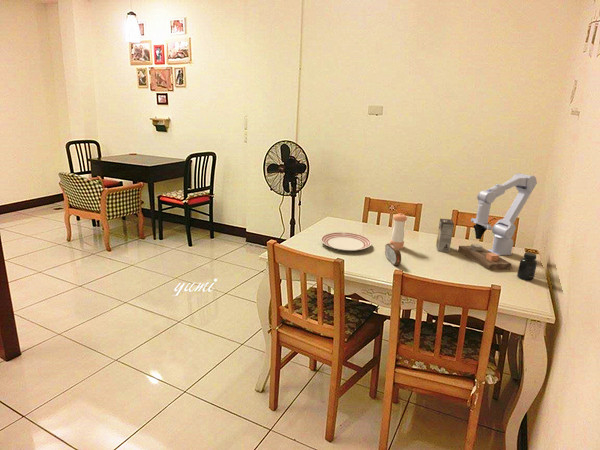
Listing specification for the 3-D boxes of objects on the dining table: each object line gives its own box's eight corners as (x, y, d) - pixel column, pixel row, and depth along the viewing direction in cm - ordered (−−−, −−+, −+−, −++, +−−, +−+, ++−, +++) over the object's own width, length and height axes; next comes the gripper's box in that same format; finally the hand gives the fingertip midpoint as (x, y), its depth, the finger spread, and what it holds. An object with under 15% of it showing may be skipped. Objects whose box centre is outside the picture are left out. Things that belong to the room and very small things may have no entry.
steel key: (477, 249, 212) (478, 244, 211) (481, 252, 208) (482, 246, 207) (470, 249, 211) (471, 244, 210) (474, 252, 207) (475, 246, 207)
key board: (477, 250, 218) (478, 245, 217) (510, 269, 193) (511, 263, 192) (458, 251, 215) (458, 245, 214) (488, 270, 191) (489, 264, 190)
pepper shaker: (388, 247, 215) (392, 213, 210) (390, 243, 222) (395, 210, 216) (402, 249, 213) (406, 215, 207) (404, 245, 219) (408, 212, 214)
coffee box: (435, 245, 223) (439, 218, 218) (447, 246, 221) (451, 219, 217) (437, 250, 214) (442, 222, 209) (449, 252, 213) (454, 223, 208)
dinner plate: (366, 258, 199) (366, 251, 198) (314, 249, 207) (314, 243, 206) (374, 241, 224) (375, 236, 223) (327, 234, 232) (328, 229, 231)
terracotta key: (492, 258, 200) (493, 252, 199) (497, 261, 196) (499, 255, 195) (485, 258, 199) (486, 253, 198) (490, 261, 195) (491, 255, 194)
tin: (400, 267, 189) (402, 251, 186) (394, 267, 188) (396, 251, 186) (389, 256, 203) (390, 240, 200) (383, 256, 202) (384, 240, 200)
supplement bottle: (513, 274, 187) (518, 251, 183) (527, 275, 188) (532, 251, 184) (522, 281, 180) (528, 256, 177) (536, 281, 181) (542, 256, 178)
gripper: (467, 210, 210) (463, 234, 214) (484, 217, 196) (479, 243, 200) (479, 210, 211) (475, 234, 215) (497, 217, 198) (492, 243, 202)
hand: (478, 238), depth 208 cm, fingers closed
